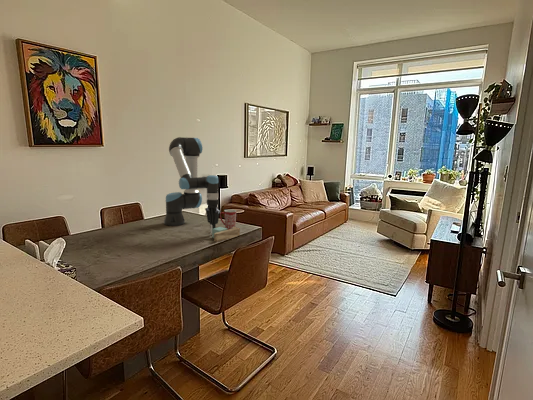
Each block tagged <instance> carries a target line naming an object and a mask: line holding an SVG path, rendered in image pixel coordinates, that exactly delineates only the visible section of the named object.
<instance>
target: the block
mask: <svg viewBox="0 0 533 400" xmlns="http://www.w3.org/2000/svg"><path fill="white" fill-rule="evenodd" d="M225 230H227V228H225V227H223V226H219V227H215V228H213V229H212V234H211V235H212V236H211V237H212V239H214V233H218V232H221V231H225Z"/></svg>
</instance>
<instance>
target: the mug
mask: <svg viewBox="0 0 533 400" xmlns="http://www.w3.org/2000/svg"><path fill="white" fill-rule="evenodd" d="M237 212H238V211H237V210H236V209H224V212H223V211H221V212H220V214H219V219H220V221H221V222H222V224H223V225H224V228H227V230H229V229H232V227H236V224H237ZM222 214H223V215H224V220H223V218H222Z"/></svg>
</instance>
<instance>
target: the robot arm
mask: <svg viewBox="0 0 533 400" xmlns="http://www.w3.org/2000/svg"><path fill="white" fill-rule="evenodd" d="M169 143H170V144H169V147H168V151H169V154H170V156H171V157H172V158H173V161H174V164H175V168H176V169H177V172H178V175H179V179H178V186H179V189H180V190H183V193H182V192H181V191H178V192H177V191H175V192H174V191H173V192H171V193H168V194H166V195H165V213H166V214H165V217H164V220H163V224H164V225H166V226H170V227H171V226H172V227H173V226H175V227H176V226H182V225H184V224H185V223H186V221H185V217H184V215H183V210H187V209H191V210H192V209H197V208H200V207H201V205H202V202H203V197H202V194H201V193H200V190H198V189H206V205H207V207H205V208H204V210H205V213H206V219H207V223H209V228H210V235H212V229H213V228H217V227H216V225H218V224H219V219H220V213H221V212H222V211H221V210H220V209H219V207H218V205H219V181H220V180H219V177H218V175H215V174H213V175H212V174H211V175H209V174H208V175H207V176H202V177H201V176H200V177H198V159H199V157H200V155H201V154H202V153H203V144H202V141H201V139H200V138H198V137H181V136H179V137H176V138H173V140H171V142H169Z"/></svg>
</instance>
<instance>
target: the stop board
mask: <svg viewBox="0 0 533 400" xmlns="http://www.w3.org/2000/svg"><path fill="white" fill-rule="evenodd" d="M240 234H241V230H240V228H239V227H236V226H235V227H232V229H229V230H225V231H221V232H218V233H214V238H213V242H216V243H218V242H222V240H223V241H226V240H228V239H232V238H235V237H238V236H240Z"/></svg>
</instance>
